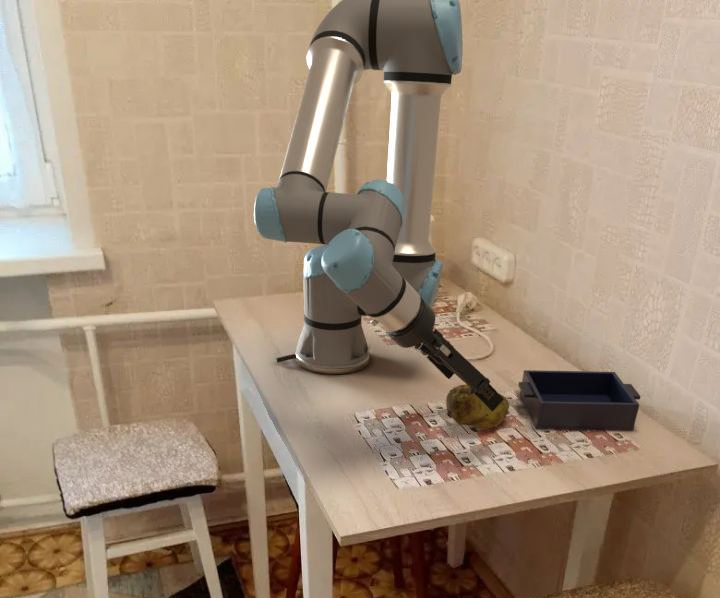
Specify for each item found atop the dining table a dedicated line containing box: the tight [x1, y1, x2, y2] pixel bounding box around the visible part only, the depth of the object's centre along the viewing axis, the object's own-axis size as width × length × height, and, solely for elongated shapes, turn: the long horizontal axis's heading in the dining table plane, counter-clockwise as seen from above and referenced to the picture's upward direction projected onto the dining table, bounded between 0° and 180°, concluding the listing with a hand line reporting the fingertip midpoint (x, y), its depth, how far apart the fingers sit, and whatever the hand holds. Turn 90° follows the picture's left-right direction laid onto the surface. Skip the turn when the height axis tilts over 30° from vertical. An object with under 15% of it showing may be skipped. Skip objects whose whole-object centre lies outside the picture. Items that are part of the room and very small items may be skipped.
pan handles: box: [517, 381, 641, 401], centre depth 134 cm, size 21×5×1 cm, turn 91°
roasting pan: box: [519, 369, 640, 431], centre depth 135 cm, size 17×14×5 cm
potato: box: [445, 383, 510, 430], centre depth 128 cm, size 8×13×8 cm, turn 105°
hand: (474, 388), depth 126 cm, fingers open, 13 cm apart
